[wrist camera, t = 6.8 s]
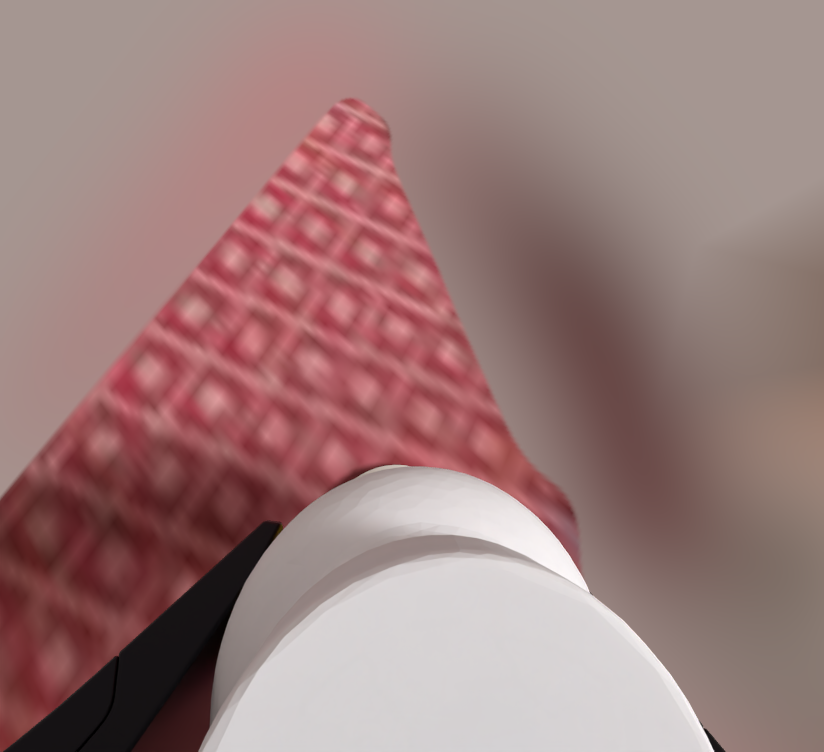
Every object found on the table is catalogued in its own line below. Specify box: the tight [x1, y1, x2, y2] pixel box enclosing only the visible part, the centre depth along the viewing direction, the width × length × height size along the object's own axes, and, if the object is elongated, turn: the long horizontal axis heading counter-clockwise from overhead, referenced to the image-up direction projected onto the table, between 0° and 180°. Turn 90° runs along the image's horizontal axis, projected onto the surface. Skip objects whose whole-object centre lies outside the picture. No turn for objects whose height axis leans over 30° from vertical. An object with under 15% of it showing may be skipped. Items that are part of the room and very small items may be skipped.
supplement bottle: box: [198, 467, 714, 752], centre depth 9 cm, size 7×7×13 cm
